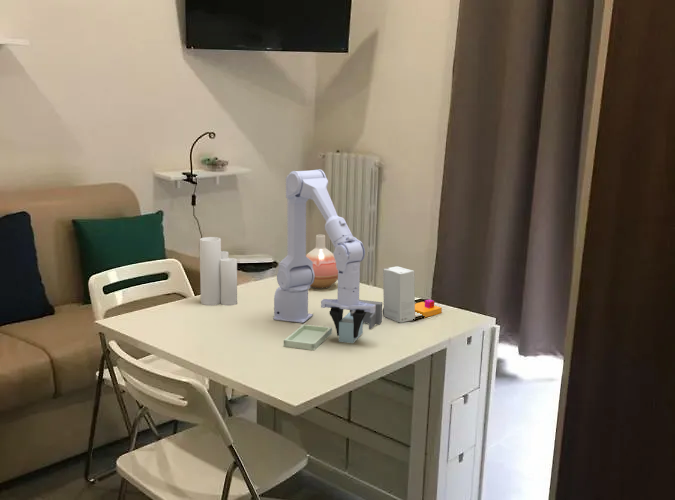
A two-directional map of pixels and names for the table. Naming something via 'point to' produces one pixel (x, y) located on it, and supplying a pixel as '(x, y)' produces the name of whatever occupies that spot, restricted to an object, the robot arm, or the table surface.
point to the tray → (307, 337)
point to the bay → (372, 314)
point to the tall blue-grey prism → (348, 329)
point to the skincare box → (399, 293)
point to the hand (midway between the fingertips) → (347, 335)
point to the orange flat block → (427, 308)
